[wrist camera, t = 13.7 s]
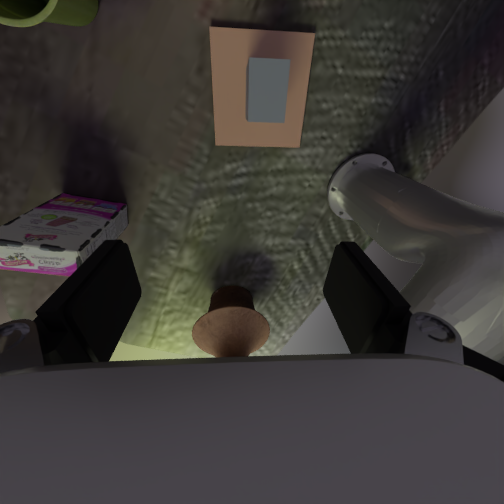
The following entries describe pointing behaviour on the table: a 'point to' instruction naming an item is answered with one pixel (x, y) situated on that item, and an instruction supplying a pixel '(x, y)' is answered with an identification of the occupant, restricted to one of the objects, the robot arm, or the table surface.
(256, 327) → the brown vase
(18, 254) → the candy bar box
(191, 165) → the table surface
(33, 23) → the plant pot
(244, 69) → the tile
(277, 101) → the block
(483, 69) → the table surface
